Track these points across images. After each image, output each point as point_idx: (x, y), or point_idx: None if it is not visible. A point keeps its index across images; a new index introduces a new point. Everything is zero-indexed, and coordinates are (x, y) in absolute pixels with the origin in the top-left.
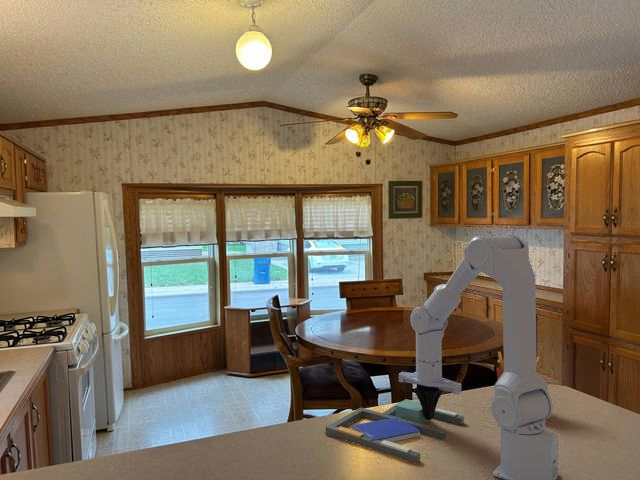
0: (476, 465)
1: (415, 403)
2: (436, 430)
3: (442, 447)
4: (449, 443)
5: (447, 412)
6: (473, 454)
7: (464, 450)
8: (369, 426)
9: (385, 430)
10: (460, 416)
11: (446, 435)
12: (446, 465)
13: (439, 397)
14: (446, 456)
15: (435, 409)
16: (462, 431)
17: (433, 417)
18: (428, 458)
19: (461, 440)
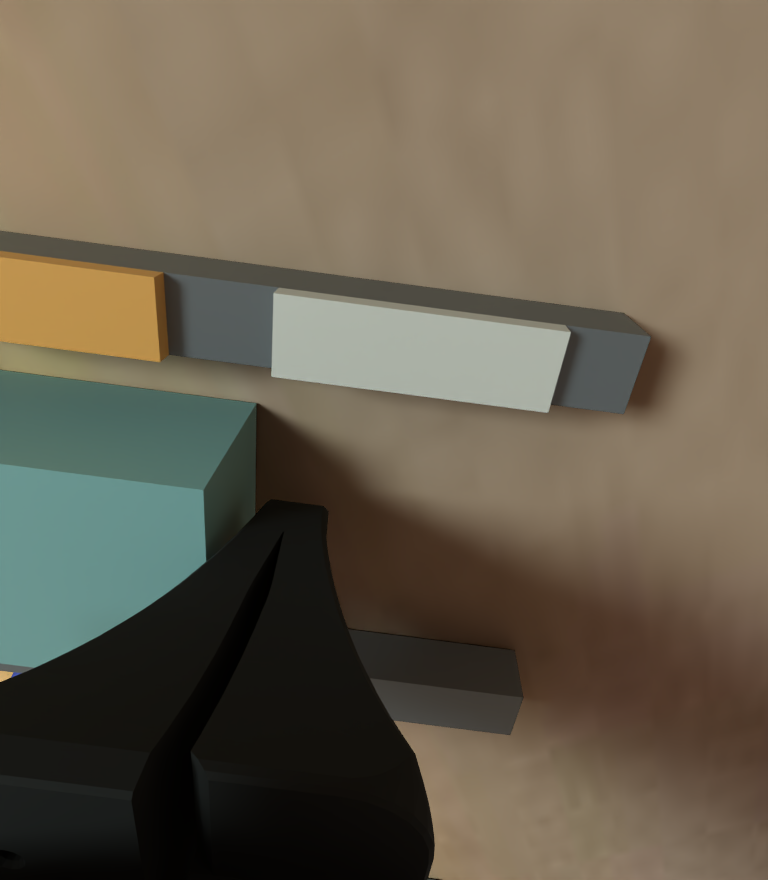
0: (732, 840)
1: (44, 526)
2: (444, 716)
3: (515, 757)
4: (549, 706)
5: (441, 371)
6: (719, 764)
7: (659, 745)
8: None
9: None
10: (609, 358)
11: (516, 668)
12: (574, 875)
13: (363, 668)
14: (559, 820)
15: (252, 285)
16: (624, 506)
17: (327, 512)
18: (471, 855)
19: (629, 645)
